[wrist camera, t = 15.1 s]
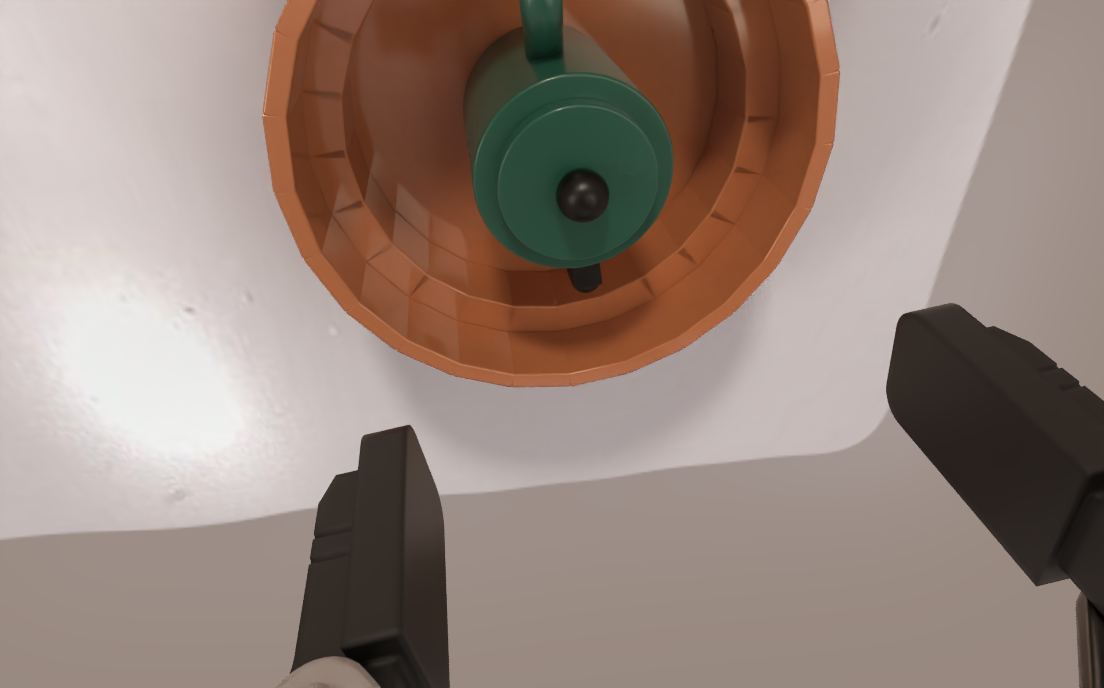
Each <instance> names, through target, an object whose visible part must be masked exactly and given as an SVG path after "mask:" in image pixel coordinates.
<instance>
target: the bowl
mask: <svg viewBox="0 0 1104 688" xmlns="http://www.w3.org/2000/svg"><path fill="white" fill-rule="evenodd" d="M563 25H564V26H567V27H570V28H573V29H575V30H577V31H580V32H582V33H583V34H585V35H586V36H588V37H589V38H591V39H592V40H593V41H594V42H595V43H597V44H598V45H599V46H600V47H601V48H602V49H603V51H604V52H605V53H606V54H607V55H608V56H609V57H610V58H611V59H612V60H613V61H614V63H615V64H616V65H617V66H618V67H619V68H620V69H621V70H622V71H623V72H624V73H625V75H626V76H627V77H628V78H629V79H630V80H631V81H632V82H633V83H634V84H635V85H636V87H637V88H638V89H639V90H640V91H641V92H642V93H643V94H644V95H645V96H646V98H647V99H648V100H649V101H650V102H651V103H652V104H653V106H654V107H655V108H656V109H657V111H658V112H659V114H660V115H661V117H662V119H663V120H664V123H665V125H666V127H667V129H668V132H669V135H670V139H671V142H672V148H673V156H674V170H673V177H672V183H671V187H670V191H669V194H668V197H667V199H666V202H665V204H664V207H663V209H662V210H661V212H660V214H659V216H658V218H657V219H656V220H655V222H654V223H653V225H652V226H651V227H650V228H649V230H648V231H647V232H646V233H645V234H644V235H643V236H642V237H641V238H640V239H639V240H638V241H637V242H635V243H634V244H633V245H632V246H631V247H629V248H628V249H626V250H625V251H623V252H622V253H620V254H618V255H616V256H614V257H613V258H610V259H608V260H606V261H603V262H601V263H600V268H601V275H602V281H603V283H602V284H601V285H599V286H598V288H597V289H596V290H594V291H593V292H590V293H581V292H578V291H577V290H576V289H575V288H574V287H573V286H572V284H571V281H570V278H569V275H568V272H567V269H566V268H552V267H547V266H542V265H538V264H535V263H532V262H529V261H527V260H525V259H523V258H521V257H519V256H517V255H516V254H514V253H512V252H511V251H509V250H508V249H507V248H506V247H504V246H503V245H502V244H501V243H500V242H499V241H498V240H497V239H496V238H495V237H494V236H493V235H492V233H491V232H490V231H489V229H488V228H487V226H486V225H485V223H484V221H483V219H482V217H481V215H480V213H479V210H478V207H477V204H476V201H475V196H474V191H473V184H472V177H471V170H470V162H469V155H468V148H467V141H466V133H465V126H464V119H463V96H464V91H465V86H466V83H467V80H468V77H469V74H470V72H471V70H472V68H473V66H474V64H475V63H476V61H477V60H478V58H479V57H480V56H481V54H482V53H483V52H484V51H485V50H486V49H487V48H488V47H489V46H490V45H491V44H492V43H493V42H494V41H496V40H497V39H498V38H500V37H501V36H503V35H504V34H506V33H508V32H510V31H512V30H514V29H516V28H519V27H522V22H521V12H520V3H519V0H287V2H286V5H285V7H284V9H283V11H282V13H281V16H280V18H279V20H278V22H277V24H276V27H275V31H274V33H273V41H272V48H271V55H270V62H269V69H268V77H267V84H266V91H265V98H264V106H263V116H262V117H263V124H264V131H265V138H266V145H267V152H268V158H269V165H270V172H271V179H272V186H273V191H274V192H275V196H276V199H277V201H278V203H279V206H280V208H281V210H282V212H283V215H284V217H285V219H286V222H287V224H288V226H289V228H290V231H291V233H292V235H293V237H294V240H295V242H296V244H297V247H298V249H299V251H300V253H301V256H302V257H303V258H304V261H305V262H306V263H307V265H308V266H309V267H310V268H311V270H312V271H313V272H314V273H315V275H316V276H317V277H318V278H319V280H320V281H321V282H322V283H323V285H324V286H325V287H326V288H327V290H328V291H329V292H330V293H331V295H332V296H333V297H334V298H335V300H336V301H337V302H338V303H339V305H340V306H341V307H342V308H343V310H344V311H346V312H347V314H349V315H350V316H351V317H352V318H354V319H355V320H356V321H358V322H359V323H360V324H362V325H363V326H364V327H366V328H367V329H368V330H370V331H371V332H372V333H374V334H375V335H376V336H377V337H379V338H380V339H381V340H383V341H384V342H385V343H387V344H388V345H389V346H391V347H392V348H393V349H395V350H397V351H398V352H400V353H402V354H405V355H407V356H409V357H411V358H414V359H416V360H418V361H420V362H423V363H425V364H427V365H429V366H432V367H434V368H436V369H439V370H441V371H443V372H445V373H448V374H450V375H454V376H456V377H461V378H467V379H472V380H477V381H482V382H487V383H492V384H497V385H502V386H507V387H511V386H512V387H556V386H570V385H571V386H575V385H579V384H584V383H588V382H593V381H597V380H602V379H606V378H610V377H615V376H619V375H624V374H628V372H629V373H630V372H633V371H635V370H637V369H639V368H642V367H644V366H646V365H648V364H651V363H653V362H655V361H657V360H659V359H662V358H664V357H666V356H668V355H671V354H673V353H675V352H677V351H680V350H682V349H683V348H685V347H687V346H688V345H690V344H691V343H692V342H694V341H695V340H697V339H698V338H699V337H701V336H702V335H704V334H705V333H706V332H708V331H709V330H711V329H712V328H713V327H715V326H716V325H718V324H719V323H720V322H722V321H723V320H725V319H726V318H727V317H729V316H730V315H732V314H733V312H735V311H736V310H737V309H738V308H739V307H740V306H741V305H742V304H743V303H744V302H745V301H746V300H747V298H748V297H749V296H750V295H751V294H752V293H753V292H754V291H755V290H756V289H757V288H758V287H759V286H760V284H761V283H762V282H763V281H764V280H765V279H766V278H767V277H768V276H769V275H770V274H771V273H772V272H773V271H774V269H775V268H776V267H777V265H778V264H779V263H780V261H781V259H782V258H783V256H784V254H785V253H786V251H787V249H788V248H789V246H790V244H791V243H792V241H793V240H794V238H795V236H796V235H797V233H798V231H799V230H800V228H801V226H802V225H803V223H804V221H805V220H806V218H807V216H808V215H809V213H810V211H811V208H812V207H813V204H814V201H815V198H816V195H817V192H818V189H819V186H820V183H821V180H822V177H823V174H824V171H825V168H826V165H827V162H828V159H829V156H830V153H831V150H832V147H833V142H834V136H835V124H836V112H837V100H838V88H839V76H840V71H839V62H838V56H837V51H836V45H835V39H834V34H833V28H832V22H831V17H830V11H829V6H828V0H563Z"/></svg>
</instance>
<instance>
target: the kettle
mask: <svg viewBox="0 0 1104 688" xmlns="http://www.w3.org/2000/svg"><path fill="white" fill-rule="evenodd" d="M519 3H520V12H521V22H522V27H519V28H516V29H514V30H512V31H510V32H508V33H506V34H504V35H503V36H501V37H500V38H498V39H497V40H496V41H494V42H493V43H492V44H491V45H490V46H489V47H488V48H487V49H486V50H485V51H484V52H483V53H482V54H481V56H480V57H479V58H478V60H477V61H476V63H475V64H474V66H473V68H472V70H471V72H470V74H469V77H468V80H467V83H466V86H465V91H464V96H463V119H464V126H465V133H466V141H467V148H468V155H469V162H470V170H471V177H472V184H473V191H474V196H475V201H476V204H477V207H478V210H479V213H480V215H481V217H482V219H483V221H484V223H485V225H486V226H487V228H488V229H489V231H490V232H491V233H492V235H493V236H494V237H495V238H496V239H497V240H498V241H499V242H500V243H501V244H502V245H503V246H504V247H506V248H507V249H508V250H509V251H511V252H512V253H514V254H516V255H517V256H519V257H521V258H523V259H525V260H527V261H529V262H532V263H535V264H538V265H542V266H547V267H552V268H566V269H567V272H568V275H569V278H570V281H571V284H572V286H573V287H574V288H575V289H576V290H577V291H578V292H581V293H590V292H593V291H594V290H596V289H597V288H598V286H599V285H601V284H602V283H603V281H602V275H601V268H600V263H601V262H603V261H606V260H608V259H610V258H613V257H614V256H616V255H618V254H620V253H622V252H623V251H625V250H626V249H628V248H629V247H631V246H632V245H633V244H634V243H635V242H637V241H638V240H639V239H640V238H641V237H642V236H643V235H644V234H645V233H646V232H647V231H648V230H649V228H650V227H651V226H652V225H653V223H654V222H655V220H656V219H657V218H658V216H659V214H660V212H661V210H662V209H663V207H664V204H665V202H666V199H667V197H668V194H669V191H670V187H671V183H672V177H673V170H674V156H673V148H672V142H671V139H670V135H669V132H668V129H667V127H666V125H665V123H664V120H663V119H662V117H661V115H660V114H659V112H658V111H657V109H656V108H655V107H654V106H653V104H652V103H651V102H650V101H649V100H648V99H647V98H646V96H645V95H644V94H643V93H642V92H641V91H640V90H639V89H638V88H637V87H636V85H635V84H634V83H633V82H632V81H631V80H630V79H629V78H628V77H627V76H626V75H625V73H624V72H623V71H622V70H621V69H620V68H619V67H618V66H617V65H616V64H615V63H614V61H613V60H612V59H611V58H610V57H609V56H608V55H607V54H606V53H605V52H604V51H603V49H602V48H601V47H600V46H599V45H598V44H597V43H595V42H594V41H593V40H592V39H591V38H589V37H588V36H586V35H585V34H583V33H582V32H580V31H577V30H575V29H573V28H570V27H567V26H564V25H563V0H519Z"/></svg>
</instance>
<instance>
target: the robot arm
mask: <svg viewBox="0 0 1104 688" xmlns="http://www.w3.org/2000/svg"><path fill="white" fill-rule="evenodd" d="M886 393H887V399H888V403H889V406H890V409H891V411H892V413H893V415H894V417H895V419H896V420H897V422H898V423H899V424H900V425H901V426H902V428H903V429H904V430H905V431H906V433H907V434H908V435H909V436H910V437H911V439H912V440H913V441H914V442H915V443H916V444H917V446H918V447H919V448H920V449H921V450H922V452H923V453H924V454H925V455H926V456H927V457H928V459H929V460H930V461H931V462H932V463H933V465H934V466H935V467H936V468H937V469H938V470H939V472H940V473H941V474H942V475H943V476H944V478H945V479H946V480H947V481H948V482H949V484H950V485H951V486H952V487H953V488H954V489H955V490H956V492H957V493H958V494H959V495H960V497H961V498H962V499H963V500H964V501H965V502H966V504H967V505H968V506H969V507H970V508H971V510H972V511H973V512H974V513H975V514H976V515H977V517H978V518H979V519H980V520H981V521H982V523H983V524H984V525H985V526H986V527H987V529H988V530H989V531H990V532H991V533H992V534H993V536H994V537H995V538H996V539H997V540H998V542H999V543H1000V544H1001V545H1002V546H1003V548H1004V549H1005V550H1006V551H1007V552H1008V553H1009V555H1010V556H1011V557H1012V558H1013V559H1014V561H1015V562H1016V563H1017V564H1018V565H1019V566H1020V568H1021V569H1022V570H1023V571H1024V572H1025V574H1026V575H1027V576H1028V577H1029V578H1030V579H1031V581H1032V582H1033V583H1034V584H1035V585H1036V586H1040V585H1044V584H1048V583H1052V582H1056V581H1061V580H1064V579H1069V578H1070V579H1071V580H1072V581H1073V582H1074V584H1075V585H1076V586H1077V587H1078V588H1079V589H1080V590H1081V592H1080V594H1079V596H1078V599H1077V601H1076V621H1077V622H1076V624H1077V646H1078V667H1079V688H1104V401H1103V400H1102V399H1101V398H1099V397H1098V396H1097V395H1096V394H1094V393H1093V392H1092V391H1091V390H1089V389H1088V388H1087V387H1086V386H1082V387H1081V386H1080V385H1079V381H1078V380H1077V379H1076V378H1074V377H1073V376H1072V375H1070V374H1069V373H1068V372H1067V371H1065V370H1064V369H1063V368H1058V367H1057V364H1056V363H1055V362H1054V361H1053V360H1052V359H1050V358H1049V357H1048V356H1046V355H1045V354H1044V353H1043V352H1041V351H1040V350H1039V349H1038V348H1037V347H1035V346H1034V345H1033V344H1032V343H1030V342H1029V341H1026V340H1024V339H1022V338H1020V337H1017V336H1015V335H1013V334H1010V333H1008V332H1006V331H1004V330H1001V329H999V328H997V327H995V326H992V327H988V328H986V327H985V326H984V325H983V324H982V323H980V322H979V321H978V320H977V319H976V318H974V317H973V316H972V315H971V314H970V313H968V312H967V311H966V310H965V309H964V308H962V307H961V306H959V305H957V304H953V303H948V304H944V305H940V306H935V307H931V308H926V309H922V310H918V311H913V312H909V313H905V314H903V315H902V316H901V317H900V318H899V320H898V323H897V327H896V333H895V338H894V344H893V350H892V356H891V361H890V367H889V373H888V379H887V385H886ZM314 535H315V539H314V540H313V542H312V549H311V556H310V560H311V564H310V565H309V568H308V574H307V581H306V588H305V593H304V600H303V606H302V612H301V619H300V625H299V631H298V638H297V644H296V651H295V657H294V661H293V666H292V669H291V672H290V674H289V675H288V676H287V677H286V678H285V679H284V680H283V681H282V682H281V683H280V684H279V685H278V686H277V687H276V688H450V681H449V653H448V624H447V595H446V567H445V540H444V539H445V538H444V520H443V513H442V507H441V502H440V498H439V494H438V491H437V488H436V485H435V482H434V480H433V477H432V475H431V472H430V470H429V467H428V465H427V462H426V459H425V457H424V454H423V452H422V449H421V447H420V444H419V442H418V439H417V436H416V434H415V432H414V430H413V428H412V426H410V425H406V426H402V427H397V428H393V429H389V430H384V431H380V432H375V433H371V434H367V435H364V436H363V437H362V440H361V446H360V456H359V466H358V470H357V471H352V472H348V473H344V474H339V475H336V476H335V478H334V479H333V481H332V483H331V484H330V486H329V488H328V489H327V491H326V493H325V494H324V496H323V497H322V499H321V501H320V502H319V504H318V511H317V517H316V523H315V531H314Z"/></svg>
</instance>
